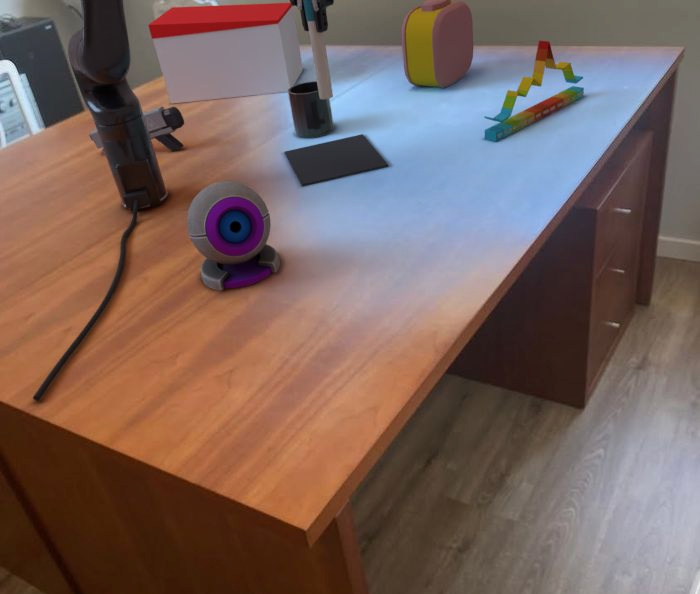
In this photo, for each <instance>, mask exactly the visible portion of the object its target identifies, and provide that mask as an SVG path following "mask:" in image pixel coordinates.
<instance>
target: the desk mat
mask: <svg viewBox="0 0 700 594" xmlns="http://www.w3.org/2000/svg"><path fill="white" fill-rule="evenodd" d="M284 155H285V157H286V158H287V160H288V163H289V164H290V166H291V169H292V170H293V171H294V174H295V175H296V177H297V180H298V181H299V183H300V185H301V187H304V186H305V187H306V186H309V185H313V184H318V183H322V182H326V181H332V180H335V179H340V178H343V177H347V176H353V175H356V174H361V173H365V172H369V171H374V170H379V169H384V168H387V167H389V163H388V162H387V161H386V160H385V159H384V157H382V155H381V154H380V152H379V151H378V150H377V149H376V148H375V147H374V146H373V144H371V142H370V141H369V140H368V139H367V137H365V135H364V134H363V133H361V134H357V135H353V136H348V137H344V138H339V139H334V140H331V141H330V140H329V141H326V142H321V143H317V144H312V145H307V146H303V147H298V148H294V149H290V150H285V151H284Z"/></svg>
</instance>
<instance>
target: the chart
mask: <svg viewBox="0 0 700 594" xmlns="http://www.w3.org/2000/svg"><path fill="white" fill-rule="evenodd" d="M545 69H551V70H560V71H562V74H563V77H564V78H563V79H564V81H565V83H570V84H575V85H576V84H578V83H579V82H581V81H582V80H583V79H584V76H580V75H576V74H575V73H574V71H573V68H572V64H571V62H568V61H567V62H566V61H558V62H557V63H555V58H554V53H553V49H552V46H551V42H550V41H547V40H538V44H537V49H536V54H535V59H534V65H533V70H532V76H531V77H530V76H529V77H528V76H522V78H521V80H520V83H519V85H518V87H517V90H516V91H515V90H509V89H507V92H506V95H505V98H504V101H503V104H502V107H501V109H500V112H499V113H498V114H496V115H495V116H494V117H490V116H483V117H484V119H486V120H489V121H493V122H498V123H496V124H494V125H491V126H490V127H488V128H486V129H484V140H487V141H492V142H498V141H500V140H501V139H504V138H506V137H508V136H509V135H512V134H514V133H515V132H517V131H519V130H522V129H523V128H526V127H527V126H529V125H531V124H534V123H535V122H537V121H539V120H540V119H543V118H545V117H546V116H549V115H550V114H553V113H554V112H556V111H558V110H560V109H562V108H564V107H566V106H568V105H570V104H572V103H574V102H575V101H577V100H579V99H581V98H583V97H584V93H585V88H584V87H582V86H575V85H572V86H569V87H567V88H565V89H564V90H562V91H560V92H558V93H557V94H555V95H552V96H550V97H548V98H546V99H544V100H542V101H540V102H538V103H536V104H534V105H533V106H530V107H528V108H526V109H524V110H521V111H520V112H518V113H516V114H513V115H512V113H513V110H514V107H515V104H516V102H517V98H518V97H523V98H527V96H528V93H529V92H530V89H531V87H532V86H535V87H542V85H543V84H542V83H543V79H544V73H545ZM574 74H575V75H574Z"/></svg>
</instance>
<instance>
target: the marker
mask: <svg viewBox="0 0 700 594" xmlns="http://www.w3.org/2000/svg"><path fill="white" fill-rule="evenodd" d="M303 2H304V8H305V14H306V20H307V22H308V28H309V31H308V33H309V34H308V35H309V40H310V46H311V47H310V48H311V52H312V59H313V67H314V72H315V79H316V81H317V85H318V91H319V98H320V99H329V98H330V99H332V98H333V97H334V93H333V87H332V81H331V73H330V66H329V59H328V53H327V46H326V45H327V44H326V39H325V33H324V32H325V31H324V32H322V33H319V32H317V30H316V24H315V17H314V11H315V10H314V8H313V4H312V0H303ZM319 2H320V0H318V3H319Z"/></svg>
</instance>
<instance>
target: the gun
mask: <svg viewBox="0 0 700 594" xmlns="http://www.w3.org/2000/svg"><path fill="white" fill-rule="evenodd" d="M143 115H144V118H145V121H146V125H147V128H148V132H149V135H150V138H151V140H153V139H154V140H157V142H159V143H161V144H162V145H163V146H164V147H166V148H167V150H170V151H171V152H176V151H179V150H181V149H183V147H184V143H182V142H181V141H180V140H179V139H178V138H176V137H175V136H174V135H173V134H172V133H175V132H176V131H177V130H178V129H181V128H182V127H184V125H185V119H184V116H183V115H182V113H181V111H180V109H178V108H177V107H176V106H170V107H168V108H165V107H164V106H162V105H161V106H159V107H156V108H153V109H149V110H147V111H143ZM89 138H90V140H91V141H93V143H94V144H95V146H96V148H97V149H101V148H102V149H101V152H102V153H103V154H104V155H106V154H105V151H104V148H103V146H102V143H101V140H100V137H99V134H98V131H97V128H96V129H95V128H94V129H93V130H92V131H90V132H89Z"/></svg>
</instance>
